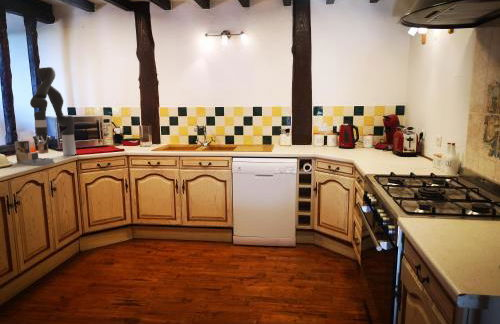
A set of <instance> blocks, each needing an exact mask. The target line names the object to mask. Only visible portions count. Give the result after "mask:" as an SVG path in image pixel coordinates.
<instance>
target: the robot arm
mask: <svg viewBox="0 0 500 324" xmlns="http://www.w3.org/2000/svg"><path fill="white" fill-rule="evenodd" d="M36 71H37V76H38V78H39V81H40V82H41V83H40V84H39V85H38V87H37V88H36V91H35V94H34V95H33V96H32V98H31V99H30V102H29V103H30V107H31V108H32V109H40V110H38V111H35V112H34V114H33V115H34V130H35V133H36V134H35V135H34V136H32V139H33V141H34V143H35V145H38V144H41V143H43V144H44V150H47V145H48V146H49V145H50V143H51V139H52V136H49V135H48V123H47V116H46V114H47V107H48V100H47V97H48V99H49V102H50V104H51V106H52V108H53V111H54V113H55V116H56V117H55V118H56V119H57V120H56V121H57V123H58V124H59V126H61V127H66V129H65V130H62V131H61V140H62V141H61V142H62V143H61V144H62V152H63V153H62V154H63V155H62V156H69V157H70V156H75V154H76V155H77V149H76V142H75V141H76V140H75V118H74V116H73V115H69V114H67V115H65V114H64V113H63V110H62V109H63V106H64V98H63V95H62V93H61V92H60V91H59V90H58V89H56V87H54V86H53V85H52V84H53V82H54V80H55V78H56V70H55V69H54V68H53V67H49V66H47V67H39V68H38V69H37V70H36Z"/></svg>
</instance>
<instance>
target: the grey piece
mask: <svg viewBox="0 0 500 324" xmlns="http://www.w3.org/2000/svg"><path fill="white" fill-rule="evenodd" d="M55 163H56V162H55V161H54V158H53V157H52V158H51V157H49V158H48V157H43V158H42V157H39V153H38V151H34V152H31V153H28V159H26V160H25V163H22V165H23V166H48V165H52V164H55Z"/></svg>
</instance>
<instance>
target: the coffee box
mask: <svg viewBox="0 0 500 324" xmlns="http://www.w3.org/2000/svg"><path fill="white" fill-rule="evenodd" d="M30 144H31V143H30V140H16V141H14V148H15V156H16V157H15V158H16V164H23V163H25V160H26V159H28V153H32V152H31V145H30Z"/></svg>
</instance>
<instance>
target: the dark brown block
mask: <svg viewBox="0 0 500 324" xmlns="http://www.w3.org/2000/svg"><path fill="white" fill-rule="evenodd" d="M37 152H38V155H39V154H40V155H41V154H48V153H49V144H48V145H47V150H44V144H43V142H42V143H41V144H37Z"/></svg>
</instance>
